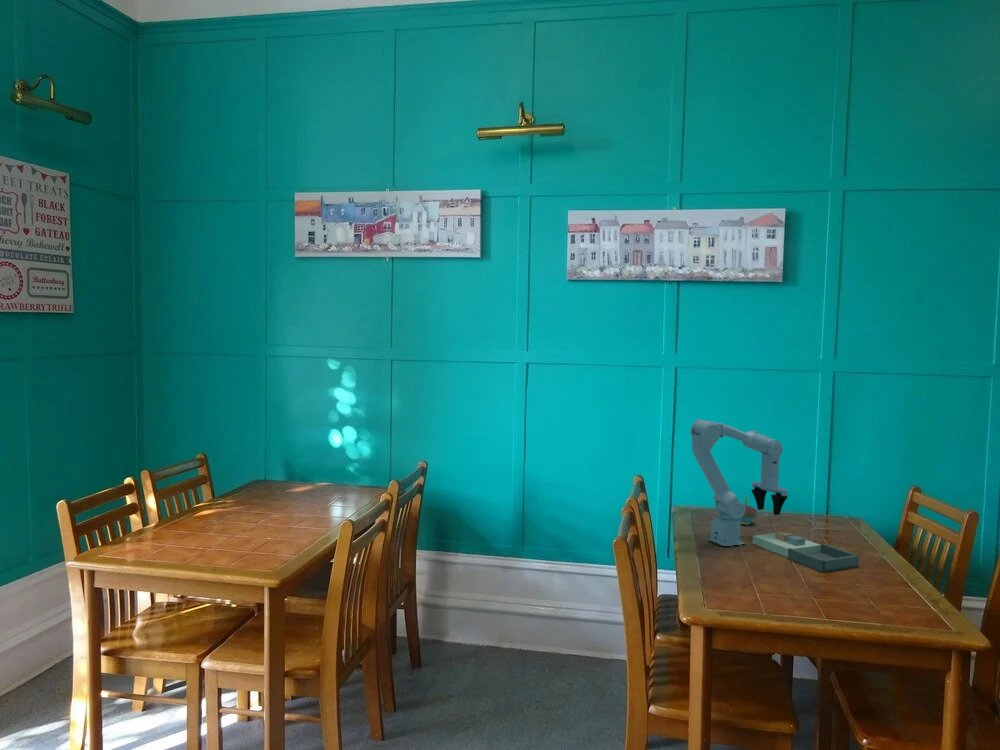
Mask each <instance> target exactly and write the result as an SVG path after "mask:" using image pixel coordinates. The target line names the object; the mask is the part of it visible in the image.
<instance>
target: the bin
mask: <svg viewBox="0 0 1000 750" xmlns="http://www.w3.org/2000/svg"><path fill="white" fill-rule="evenodd" d="M820 545H821V553H813V554H805V553H803V552H800V551H797V550H795V549H792V548H788V558H787V560H789V561H792V562H794V563H797V564H800V565H803V566H805V567H807V568H810V569H813V570H815V571H817V572H820V573H827V572H834V571H835V572H836V571H840V570H848V569H853V568H859V567H860V565H859V564H860V555H858V554H856V553H852V552H850V551H847V550H843V549H841V548H838V547H835V546H831V545H829V544H825V543H821V544H820Z"/></svg>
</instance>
